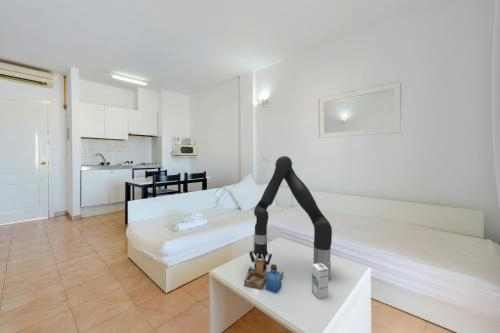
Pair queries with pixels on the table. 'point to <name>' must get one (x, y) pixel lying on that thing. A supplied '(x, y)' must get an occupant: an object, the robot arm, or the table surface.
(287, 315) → the table surface
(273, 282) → the perfume bottle
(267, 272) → the rail
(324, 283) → the syrup box
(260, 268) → the tan rectangular block
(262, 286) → the tray
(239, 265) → the table surface
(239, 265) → the table surface
